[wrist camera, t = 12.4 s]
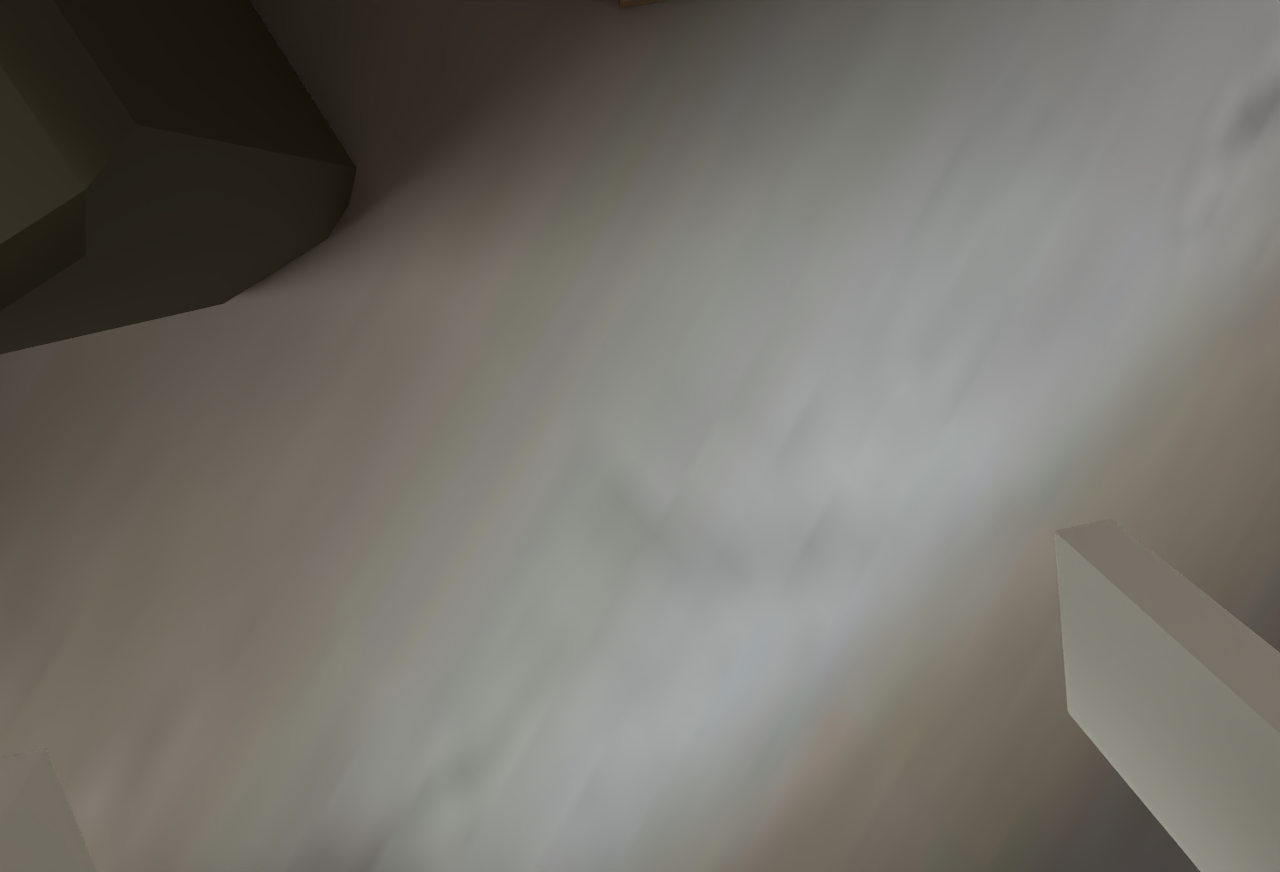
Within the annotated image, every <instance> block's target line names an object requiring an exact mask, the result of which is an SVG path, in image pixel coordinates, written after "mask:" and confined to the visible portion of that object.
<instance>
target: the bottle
mask: <svg viewBox="0 0 1280 872" xmlns="http://www.w3.org/2000/svg"><path fill="white" fill-rule="evenodd" d="M355 173H356V167H355V165H354V164H353V162H352V160H351V159H350V157H349V156H348V154H347V153H346V151H345V150H344V148H343V146H342V145H341V143H340V142H339V140H338V139H337V137H336V135H335V134H334V132H333V131H332V129H331V128H330V126H329V124H328V123H327V121H326V120H325V118H324V117H323V115H322V114H321V112H320V110H319V109H318V107H317V106H316V104H315V103H314V101H313V99H312V98H311V96H310V95H309V93H308V92H307V90H306V89H305V87H304V85H303V84H302V82H301V81H300V79H299V78H298V76H297V74H296V73H295V71H294V70H293V68H292V67H291V65H290V63H289V62H288V60H287V59H286V57H285V56H284V54H283V53H282V51H281V49H280V48H279V46H278V45H277V43H276V42H275V40H274V38H273V37H272V35H271V34H270V32H269V31H268V29H267V28H266V26H265V24H264V23H263V21H262V20H261V18H260V17H259V15H258V13H257V12H256V10H255V9H254V7H253V6H252V4H251V2H250V1H249V0H0V354H3V353H8V352H12V351H17V350H21V349H25V348H30V347H34V346H39V345H43V344H47V343H52V342H56V341H61V340H65V339H70V338H74V337H78V336H83V335H87V334H92V333H96V332H100V331H105V330H109V329H114V328H118V327H123V326H127V325H131V324H136V323H140V322H145V321H149V320H154V319H158V318H162V317H167V316H171V315H176V314H180V313H184V312H189V311H193V310H198V309H202V308H207V307H211V306H215V305H220V304H224V303H225V302H227V301H228V300H230V299H232V298H233V297H235V296H236V295H238V294H240V293H241V292H243V291H244V290H246V289H247V288H249V287H251V286H252V285H254V284H255V283H257V282H259V281H260V280H262V279H263V278H265V277H267V276H268V275H270V274H271V273H273V272H274V271H276V270H278V269H279V268H281V267H282V266H284V265H286V264H287V263H289V262H290V261H292V260H293V259H295V258H297V257H298V256H300V255H301V254H303V253H305V252H306V251H308V250H309V249H311V248H312V247H314V246H316V245H317V244H319V243H320V242H322V241H324V240H325V239H327V238H328V236H329V235H330V233H331V231H332V230H333V228H334V227H335V225H336V223H337V222H338V220H339V219H340V217H341V215H342V214H343V212H344V210H345V209H346V207H347V206H348V204H349V200H350V195H351V191H352V186H353V182H354V177H355Z"/></svg>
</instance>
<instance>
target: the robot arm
mask: <svg viewBox="0 0 1280 872" xmlns="http://www.w3.org/2000/svg"><path fill="white" fill-rule="evenodd" d="M1054 535H1055V548H1056V561H1057V574H1058V587H1059V600H1060V614H1061V627H1062V640H1063V653H1064V666H1065V679H1066V693H1067V706H1068V713H1069V714H1070V715H1071V716H1072V717H1073V719H1074V720H1075V721H1076V722H1077V723H1078V725H1079V726H1080V727H1081V728H1082V729H1083V731H1084V732H1085V733H1086V734H1087V736H1088V737H1089V738H1090V739H1091V740H1092V742H1093V743H1094V744H1095V745H1096V746H1097V748H1098V749H1099V750H1100V751H1101V752H1102V754H1103V755H1104V756H1105V757H1106V758H1107V760H1108V761H1109V762H1110V763H1111V764H1112V766H1113V767H1114V768H1115V769H1116V770H1117V772H1118V773H1119V774H1120V775H1121V776H1122V778H1123V779H1124V780H1125V781H1126V782H1127V784H1128V785H1129V786H1130V787H1131V788H1132V790H1133V791H1134V792H1135V793H1136V794H1137V796H1138V797H1139V798H1140V799H1141V800H1142V802H1143V803H1144V804H1145V805H1146V806H1147V808H1148V809H1149V810H1150V811H1151V812H1152V814H1153V815H1154V816H1155V817H1156V818H1157V820H1158V821H1159V822H1160V823H1161V824H1162V826H1163V827H1164V828H1165V829H1166V830H1167V832H1168V833H1169V834H1170V835H1171V836H1172V838H1173V839H1174V840H1175V841H1176V842H1177V844H1178V845H1179V846H1180V847H1181V848H1182V850H1183V851H1184V852H1185V853H1186V855H1187V856H1188V857H1189V858H1190V859H1191V861H1192V862H1193V863H1194V864H1195V865H1196V867H1197V868H1198V869H1199V870H1200V871H1201V872H1280V653H1279V652H1278V651H1277V650H1276V649H1274V648H1273V647H1272V646H1271V645H1269V644H1268V643H1267V642H1266V641H1264V640H1263V639H1262V638H1261V637H1259V636H1258V635H1257V634H1256V633H1254V632H1253V631H1252V630H1250V629H1249V628H1248V627H1247V626H1245V625H1244V624H1243V623H1242V622H1240V621H1239V620H1238V619H1237V618H1235V617H1234V616H1233V615H1232V614H1230V613H1229V612H1228V611H1227V610H1225V609H1224V608H1223V607H1221V606H1220V605H1219V604H1218V603H1216V602H1215V601H1214V600H1213V599H1211V598H1210V597H1209V596H1208V595H1206V594H1205V593H1204V592H1203V591H1201V590H1200V589H1199V588H1198V587H1196V586H1195V585H1194V584H1193V583H1191V582H1190V581H1189V580H1187V579H1186V578H1185V577H1184V576H1182V575H1181V574H1180V573H1179V572H1177V571H1176V570H1175V569H1174V568H1172V567H1171V566H1170V565H1169V564H1167V563H1166V562H1165V561H1164V560H1162V559H1161V558H1160V557H1158V556H1157V555H1156V554H1155V553H1153V552H1152V551H1151V550H1150V549H1148V548H1147V547H1146V546H1145V545H1143V544H1142V543H1141V542H1140V541H1138V540H1137V539H1136V538H1135V537H1133V536H1132V535H1131V534H1129V533H1128V532H1127V531H1126V530H1124V529H1123V528H1122V527H1121V526H1119V525H1118V524H1117V523H1116V522H1114V521H1113V520H1112V519H1108V520H1103V521H1099V522H1094V523H1089V524H1085V525H1080V526H1076V527H1071V528H1066V529H1062V530H1057V531H1054ZM0 872H97V870H96V868H95V865H94V863H93V860H92V858H91V855H90V853H89V850H88V848H87V845H86V843H85V841H84V838H83V836H82V833H81V831H80V828H79V826H78V823H77V821H76V819H75V816H74V814H73V811H72V809H71V806H70V804H69V801H68V799H67V797H66V794H65V792H64V789H63V787H62V784H61V782H60V779H59V777H58V775H57V772H56V770H55V767H54V765H53V762H52V760H51V757H50V755H49V752H48V750H47V748H46V749H41V750H36V751H32V752H27V753H22V754H18V755H13V756H9V757H4V758H0Z"/></svg>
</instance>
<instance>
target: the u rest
mask: <svg viewBox="0 0 1280 872" xmlns="http://www.w3.org/2000/svg"><path fill="white" fill-rule="evenodd" d="M659 1H664V0H619V6H620V8H626V7H631V6H637V5H642V4H648V3H653V2H659Z"/></svg>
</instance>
